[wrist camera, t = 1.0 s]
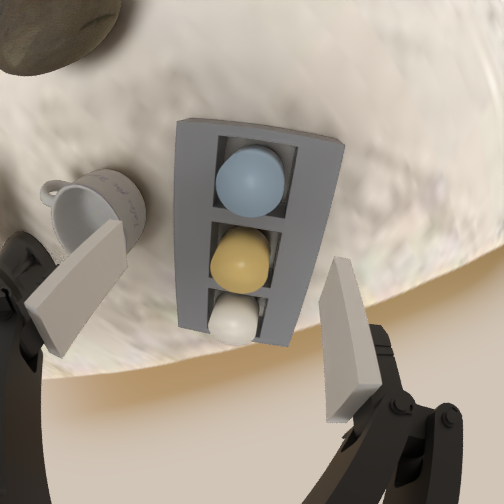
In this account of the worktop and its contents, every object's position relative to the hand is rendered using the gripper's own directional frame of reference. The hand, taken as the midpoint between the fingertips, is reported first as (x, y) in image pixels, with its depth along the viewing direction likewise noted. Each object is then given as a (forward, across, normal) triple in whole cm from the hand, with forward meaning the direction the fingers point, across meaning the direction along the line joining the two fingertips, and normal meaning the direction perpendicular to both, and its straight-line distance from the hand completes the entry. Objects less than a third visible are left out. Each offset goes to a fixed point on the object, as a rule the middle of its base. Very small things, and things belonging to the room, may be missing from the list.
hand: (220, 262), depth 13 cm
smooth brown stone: (+18, -22, +18) cm, 33 cm away
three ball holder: (+18, 0, -8) cm, 20 cm away
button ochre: (+15, 0, -8) cm, 17 cm away
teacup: (+18, -18, -6) cm, 26 cm away
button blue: (+15, 0, 0) cm, 15 cm away
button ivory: (+15, 0, -17) cm, 23 cm away
